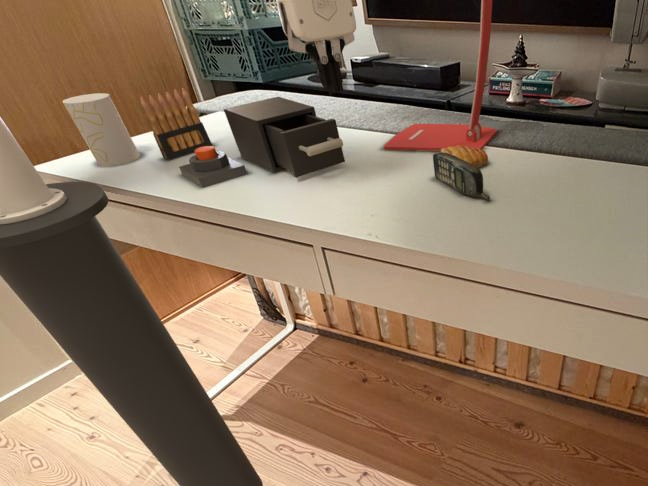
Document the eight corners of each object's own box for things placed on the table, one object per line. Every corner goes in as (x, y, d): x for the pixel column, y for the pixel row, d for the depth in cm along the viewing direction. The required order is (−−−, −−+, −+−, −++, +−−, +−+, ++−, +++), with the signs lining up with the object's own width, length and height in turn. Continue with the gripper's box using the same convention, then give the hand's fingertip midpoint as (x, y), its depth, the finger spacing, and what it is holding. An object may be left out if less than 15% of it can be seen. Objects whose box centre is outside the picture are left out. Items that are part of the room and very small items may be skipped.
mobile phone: (429, 152, 83) (477, 173, 73) (443, 148, 84) (492, 168, 74) (432, 180, 86) (479, 203, 76) (445, 176, 87) (493, 198, 78)
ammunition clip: (208, 144, 106) (184, 85, 98) (212, 146, 106) (189, 86, 98) (163, 158, 100) (133, 97, 92) (168, 160, 99) (138, 98, 91)
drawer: (357, 166, 90) (348, 123, 84) (308, 183, 84) (295, 138, 79) (310, 148, 99) (299, 108, 94) (262, 162, 93) (248, 120, 88)
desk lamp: (373, 123, 115) (333, -103, 88) (523, 131, 106) (530, -119, 79) (336, 146, 102) (277, -110, 75) (502, 158, 93) (502, -129, 66)
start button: (202, 162, 88) (198, 153, 87) (195, 158, 90) (191, 149, 88) (221, 157, 90) (217, 148, 88) (213, 153, 92) (209, 144, 90)
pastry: (480, 156, 94) (479, 137, 91) (493, 167, 89) (493, 147, 87) (437, 164, 91) (435, 144, 89) (448, 176, 87) (447, 155, 84)
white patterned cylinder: (89, 164, 99) (52, 102, 91) (120, 152, 105) (88, 92, 97) (118, 167, 97) (83, 104, 89) (148, 154, 103) (118, 93, 95)
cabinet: (326, 157, 97) (314, 106, 91) (274, 173, 91) (256, 120, 84) (292, 143, 105) (278, 96, 99) (241, 158, 99) (223, 108, 92)
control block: (202, 187, 87) (194, 168, 84) (182, 175, 92) (174, 157, 90) (247, 173, 91) (241, 155, 89) (226, 162, 97) (219, 145, 94)
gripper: (259, -64, 56) (305, 104, 68) (360, -68, 63) (385, 84, 76) (232, -61, 60) (280, 98, 72) (330, -65, 67) (359, 79, 80)
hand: (334, 90), depth 74 cm, fingers closed
